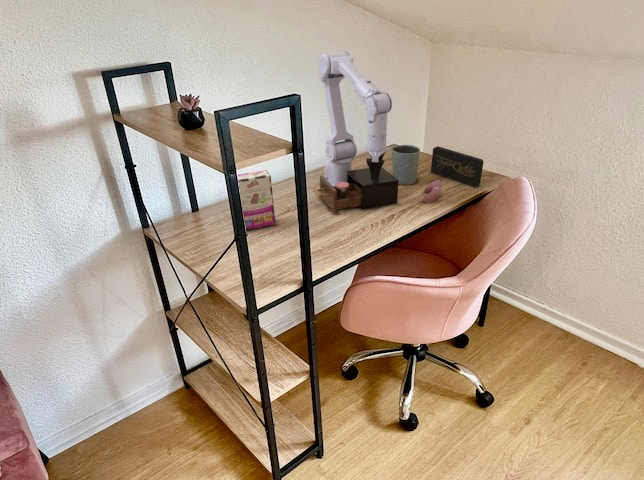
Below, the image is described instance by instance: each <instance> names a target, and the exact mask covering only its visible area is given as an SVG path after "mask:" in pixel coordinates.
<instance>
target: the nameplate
mask: <svg viewBox="0 0 644 480" xmlns="http://www.w3.org/2000/svg"><path fill="white" fill-rule="evenodd" d="M483 168H484V160H483V158H480V157H476V156H472V155H468V154H466V153H462V152H460V151H456V150H452V149H448V148H445V147H442V146H439V145H438V146H435V147H432V155H431V166H430V171H431V173H432V174H435V175H438V176H441V177H443V178H447V179H450V180H453V181H455V182H458V183H462V184H465V185H467V186H470V187H473V188H477V187H479V186H480V185H481V180H482V175H483Z"/></svg>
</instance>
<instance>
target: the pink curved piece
mask: <svg viewBox="0 0 644 480" xmlns="http://www.w3.org/2000/svg"><path fill="white" fill-rule="evenodd" d="M442 185H443V182H442V181H441V180H437V179H436V180H434V181H433V182H432V183H430V184H427V185H426V186H425V187H424V189H423V192H424V193H427V194H426V195H424V196H423V197H422V201H423V203H430V202H432V201H435V199H437V198H438V197H441V195H442V189H441V188H442Z"/></svg>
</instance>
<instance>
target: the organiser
mask: <svg viewBox="0 0 644 480" xmlns="http://www.w3.org/2000/svg"><path fill="white" fill-rule="evenodd" d="M398 182H399V180H398V179H396V178H395V177H394V176H393V174H392V173H390V172H389V171H388V170H386V169H385V168H384V167H383V166H382V168H381V171H380V175H379V179H378V181H372V180H371V175H370V170H369V167H366V168H358V169H353V170H352V169H351V171H347V183H349V184H352V183H356V184H357V185H358V186H359V187H360V188H361V189H362V204H361V205H359V206H358V208H360V209H361V210H368V209H374V208H380V207H386V206H391V205H397V204H398V199H399V198H398V197H399V184H398Z"/></svg>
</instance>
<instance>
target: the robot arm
mask: <svg viewBox="0 0 644 480" xmlns="http://www.w3.org/2000/svg"><path fill="white" fill-rule="evenodd" d="M317 66H318V73H319V77H320V78H319V79H320V82H322V83H323V91H324V96H325V102H326V107H327V113H328V119H329V125H330V132H331V134H330V135H328V137H327V138H326V139H325V145H326V146H325V154H326V157H327V159H326V160H325V163H324V178H325V179H326V180H327V181H328V182H329V183H330V184H331V185H332V186H335V184H336V183H337V182H347V171H351V170H352V162H353V161H354V158H355V157H356V156H357V153H358V148H357V144H356V142H355V139H354V136H353V134H352V133H350V132H348V131H347V126H346V120H345V112H344V106H343V100H342V94H341V93H342V92H341V88H340V83H341V81H342V80H344V79H345V78H346V79H347V80H348V81H349V82H350V83H351V84H352V85H353V86H354V92H355V94H356V96H358V97H359V99H360V100H361V101H362V102H363V103H364V110H365V112H366V120H367V147H366V151H367V153H368V154H369V156H370V158H369V157H367V158H366V164H367V168H369V170H370V175H371V180H372V181H378V179H379V175H380V171H381V168H382V167H383V166H384V164H385V159H384V156H385V155H386V153H388V152H390V147H387V132H388V131H387V130H388V129H387V128H388V113H389V112H390V111H391V110H392V107H393V101H392V97H391V96H390V94H389V93H388V92H383V91H380V89H379V88H377V86H376V85H375V84H374V82H372V80H371V78H369V77H363V75H362V74H361V73H360V72H359V70H358V69H357V67H356V66H355V64H354V57H353V56H352V55H351V54H350V52H349V51H343V52H331V53H322V54H321V55H320V57H319V59H318V62H317Z"/></svg>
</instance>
